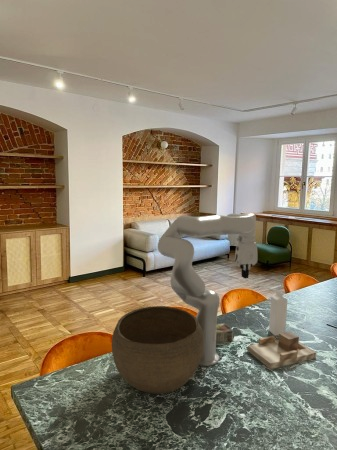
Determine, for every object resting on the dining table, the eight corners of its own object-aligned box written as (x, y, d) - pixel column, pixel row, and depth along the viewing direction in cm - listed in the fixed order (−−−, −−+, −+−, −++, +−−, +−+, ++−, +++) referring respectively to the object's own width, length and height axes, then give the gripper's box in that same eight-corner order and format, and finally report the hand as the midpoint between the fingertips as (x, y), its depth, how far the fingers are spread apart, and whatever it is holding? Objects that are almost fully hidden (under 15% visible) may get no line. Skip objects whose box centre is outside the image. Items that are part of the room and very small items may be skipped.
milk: (274, 336, 170) (276, 294, 166) (268, 330, 176) (270, 290, 172) (285, 334, 171) (288, 293, 168) (279, 329, 177) (281, 289, 174)
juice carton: (226, 332, 174) (226, 321, 173) (235, 341, 164) (235, 329, 163) (189, 337, 168) (190, 325, 167) (196, 347, 159) (197, 334, 158)
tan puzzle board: (270, 369, 140) (270, 357, 139) (247, 350, 155) (248, 340, 154) (316, 357, 149) (316, 347, 149) (290, 341, 164) (291, 331, 163)
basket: (215, 370, 139) (219, 315, 133) (173, 429, 109) (175, 362, 104) (145, 343, 156) (146, 294, 151) (92, 388, 127) (91, 329, 121)
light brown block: (288, 352, 149) (289, 339, 148) (278, 346, 154) (279, 333, 153) (297, 349, 152) (298, 336, 151) (287, 343, 157) (288, 331, 156)
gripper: (237, 242, 151) (235, 281, 153) (264, 240, 156) (262, 278, 159) (228, 239, 158) (227, 276, 160) (255, 237, 163) (253, 273, 166)
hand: (244, 277), depth 160 cm, fingers closed
